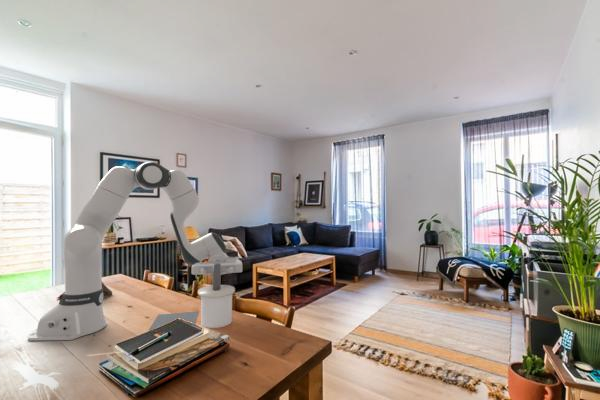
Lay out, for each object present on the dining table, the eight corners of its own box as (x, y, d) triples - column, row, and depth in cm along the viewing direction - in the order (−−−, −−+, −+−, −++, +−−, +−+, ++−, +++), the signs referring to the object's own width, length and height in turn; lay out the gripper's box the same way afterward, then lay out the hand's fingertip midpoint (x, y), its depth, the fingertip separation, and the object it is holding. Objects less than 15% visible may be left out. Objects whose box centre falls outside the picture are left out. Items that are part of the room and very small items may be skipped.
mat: (148, 331, 108) (148, 330, 108) (158, 315, 124) (158, 314, 124) (194, 327, 112) (194, 326, 112) (198, 312, 128) (198, 311, 128)
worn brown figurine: (90, 306, 141) (81, 271, 138) (83, 304, 144) (75, 270, 140) (114, 294, 151) (107, 261, 148) (108, 293, 154) (101, 260, 151)
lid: (195, 298, 109) (195, 268, 109) (199, 288, 122) (199, 261, 122) (234, 296, 112) (235, 267, 112) (234, 286, 125) (234, 260, 125)
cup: (208, 331, 109) (208, 298, 109) (196, 322, 117) (196, 291, 117) (237, 323, 116) (237, 292, 116) (223, 314, 125) (223, 286, 125)
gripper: (193, 258, 127) (188, 265, 114) (241, 256, 132) (243, 262, 119) (192, 273, 127) (188, 281, 114) (241, 270, 132) (243, 278, 118)
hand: (216, 272), depth 116 cm, fingers open, 8 cm apart
